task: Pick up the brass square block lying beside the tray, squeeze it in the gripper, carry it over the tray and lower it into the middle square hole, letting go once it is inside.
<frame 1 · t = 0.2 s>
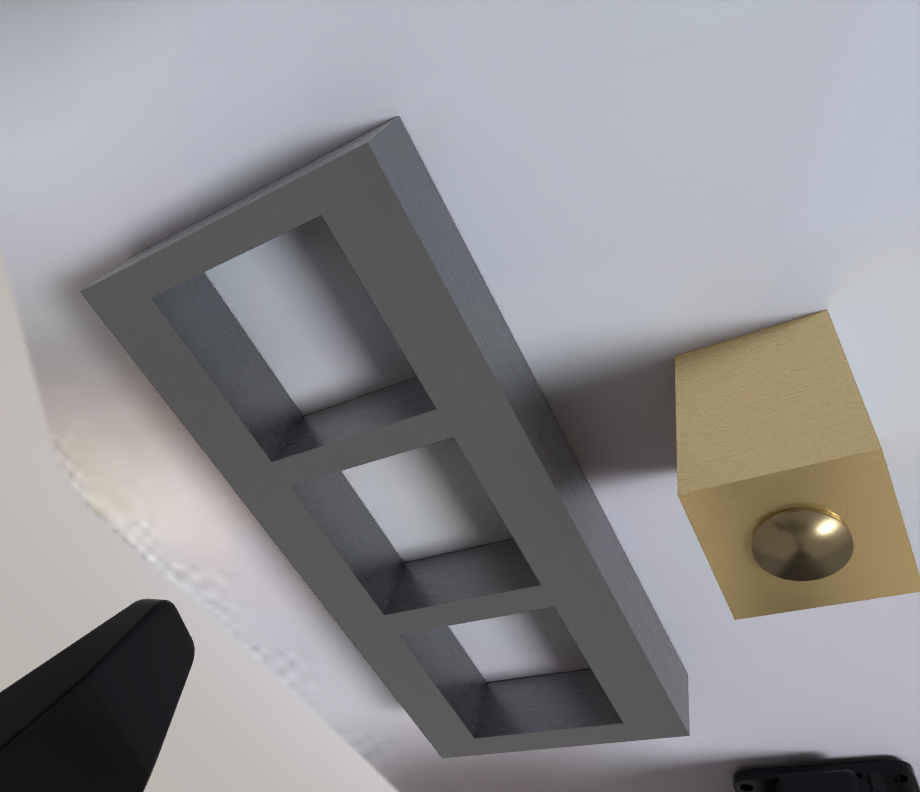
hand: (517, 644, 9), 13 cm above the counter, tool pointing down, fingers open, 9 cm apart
tray: (434, 484, 26), on the counter
brass block: (769, 392, 21), on the counter
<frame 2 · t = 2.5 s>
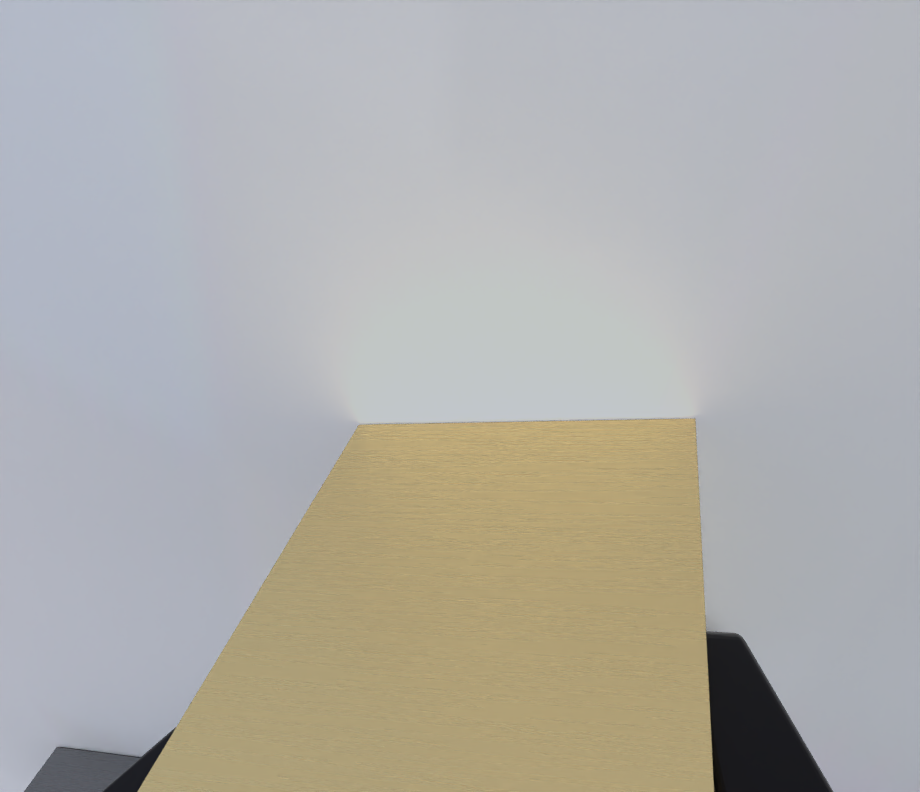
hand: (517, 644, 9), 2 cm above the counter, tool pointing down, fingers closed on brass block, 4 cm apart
brass block: (537, 549, 10), on the counter, touching gripper
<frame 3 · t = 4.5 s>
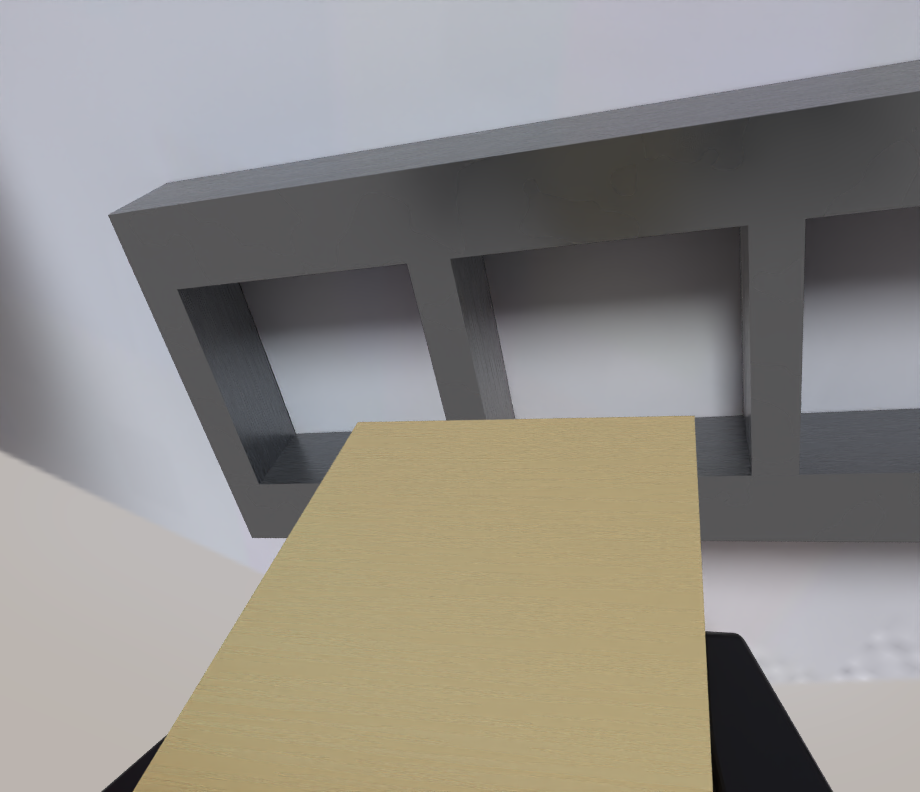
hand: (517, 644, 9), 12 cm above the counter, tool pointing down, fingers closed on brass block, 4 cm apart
tray: (613, 320, 19), on the counter
brass block: (536, 547, 10), point 10 cm above the counter, touching gripper
when the fingers open (3 cm above the counter, at t = 6.8 s): brass block drops 2 cm, resting in tray.
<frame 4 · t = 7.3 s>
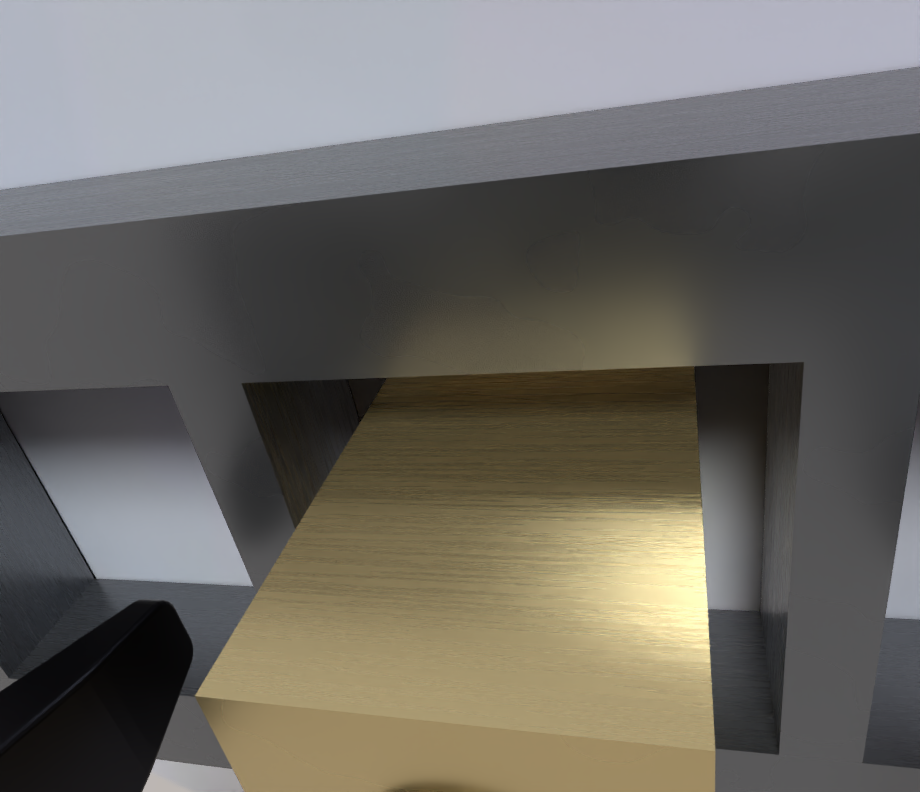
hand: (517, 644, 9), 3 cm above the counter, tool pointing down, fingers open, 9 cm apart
tray: (553, 461, 11), on the counter
brass block: (556, 457, 11), resting in tray
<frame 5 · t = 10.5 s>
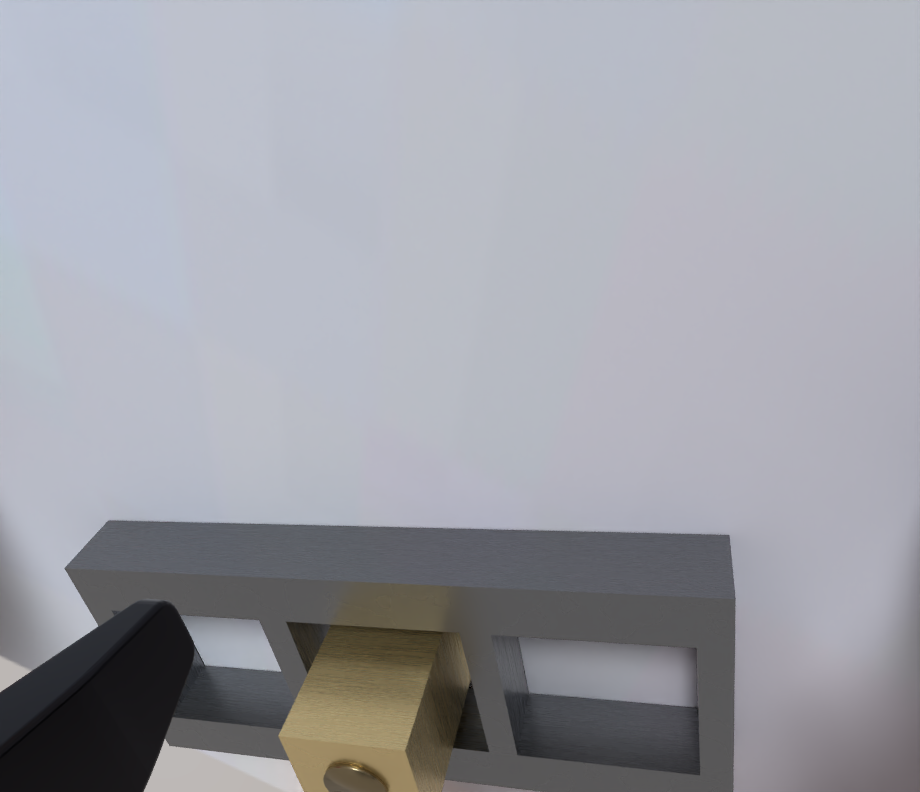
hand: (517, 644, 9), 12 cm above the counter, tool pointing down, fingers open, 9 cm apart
tray: (410, 630, 28), on the counter
brass block: (412, 628, 28), resting in tray
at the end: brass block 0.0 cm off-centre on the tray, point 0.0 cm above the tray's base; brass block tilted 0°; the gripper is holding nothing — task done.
